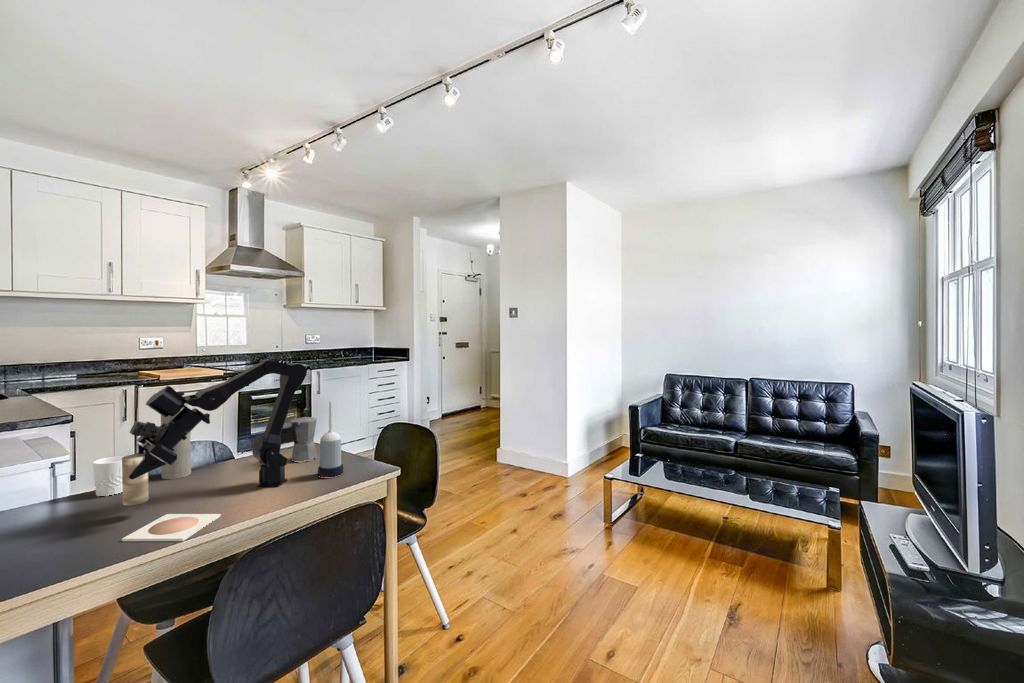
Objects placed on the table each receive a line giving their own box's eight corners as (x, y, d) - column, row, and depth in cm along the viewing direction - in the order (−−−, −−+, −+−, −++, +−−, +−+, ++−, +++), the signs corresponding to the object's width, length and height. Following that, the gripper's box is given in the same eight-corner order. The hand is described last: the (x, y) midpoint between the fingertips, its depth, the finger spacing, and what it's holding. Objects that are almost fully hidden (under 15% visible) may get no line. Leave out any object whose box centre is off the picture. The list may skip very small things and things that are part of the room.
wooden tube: (153, 497, 121) (152, 453, 121) (137, 505, 116) (136, 459, 115) (133, 497, 121) (133, 453, 121) (117, 505, 116) (116, 459, 115)
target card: (220, 516, 119) (220, 513, 119) (182, 541, 105) (182, 538, 105) (166, 516, 119) (166, 513, 119) (121, 541, 105) (121, 538, 105)
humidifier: (319, 480, 148) (318, 404, 147) (316, 473, 155) (316, 400, 154) (345, 476, 152) (345, 402, 151) (341, 469, 159) (341, 399, 158)
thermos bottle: (184, 470, 157) (183, 390, 156) (195, 474, 153) (194, 392, 152) (157, 476, 150) (156, 392, 149) (167, 480, 146) (166, 394, 145)
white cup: (107, 488, 139) (107, 456, 138) (135, 487, 139) (134, 455, 139) (85, 498, 131) (85, 464, 131) (114, 497, 131) (114, 463, 131)
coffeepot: (300, 454, 178) (299, 409, 177) (323, 454, 177) (323, 409, 177) (279, 466, 162) (279, 416, 162) (305, 466, 162) (305, 416, 162)
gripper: (146, 405, 127) (93, 452, 119) (160, 414, 114) (103, 466, 106) (180, 428, 133) (132, 474, 125) (197, 439, 120) (146, 490, 113)
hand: (128, 476), depth 117 cm, fingers closed on wooden tube, 5 cm apart
